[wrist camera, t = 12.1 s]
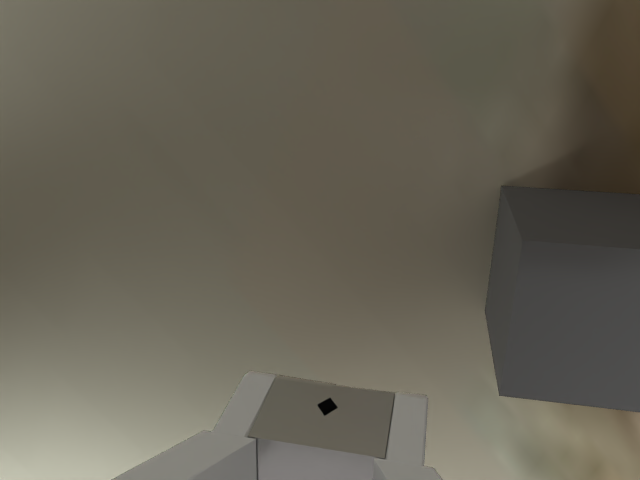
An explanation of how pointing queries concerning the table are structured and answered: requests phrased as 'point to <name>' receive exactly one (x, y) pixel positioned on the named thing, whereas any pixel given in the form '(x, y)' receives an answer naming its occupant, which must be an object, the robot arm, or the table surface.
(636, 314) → the block
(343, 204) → the table surface
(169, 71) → the table surface
